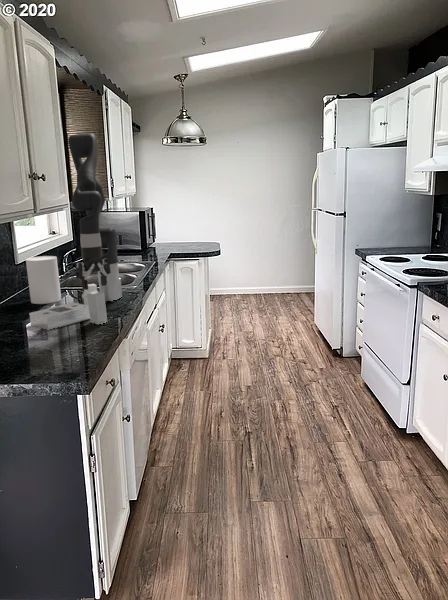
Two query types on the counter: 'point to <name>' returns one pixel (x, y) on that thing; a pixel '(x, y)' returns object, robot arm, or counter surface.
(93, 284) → the medicine bottle
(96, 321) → the skincare box
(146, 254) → the counter surface
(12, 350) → the counter surface
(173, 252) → the counter surface
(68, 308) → the block
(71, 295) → the counter surface
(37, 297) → the canister
